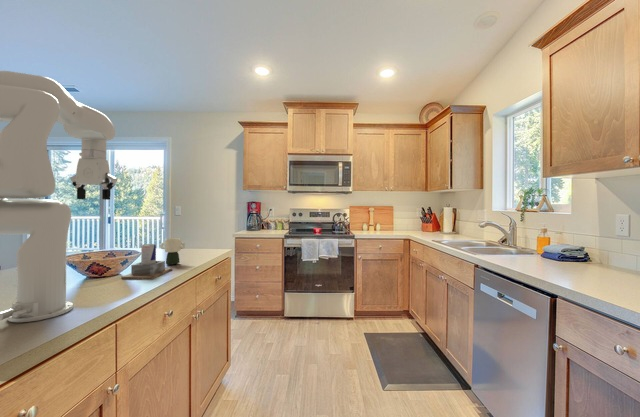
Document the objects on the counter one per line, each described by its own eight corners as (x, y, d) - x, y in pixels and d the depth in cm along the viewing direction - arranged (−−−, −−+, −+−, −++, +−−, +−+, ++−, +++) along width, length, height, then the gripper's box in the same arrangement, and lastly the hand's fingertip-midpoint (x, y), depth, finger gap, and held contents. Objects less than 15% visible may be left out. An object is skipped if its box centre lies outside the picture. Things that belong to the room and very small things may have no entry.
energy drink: (158, 270, 120) (158, 244, 120) (149, 273, 115) (150, 245, 114) (147, 270, 120) (147, 243, 120) (138, 273, 115) (138, 245, 115)
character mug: (186, 262, 142) (186, 238, 142) (182, 265, 135) (182, 239, 135) (163, 263, 140) (163, 238, 140) (158, 266, 133) (158, 240, 133)
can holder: (151, 279, 110) (151, 267, 110) (121, 279, 110) (121, 266, 109) (172, 270, 126) (172, 259, 126) (146, 269, 125) (146, 259, 125)
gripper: (62, 153, 102) (62, 198, 102) (109, 154, 102) (108, 199, 102) (80, 157, 109) (79, 199, 110) (123, 158, 110) (122, 199, 110)
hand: (93, 199), depth 106 cm, fingers open, 9 cm apart
